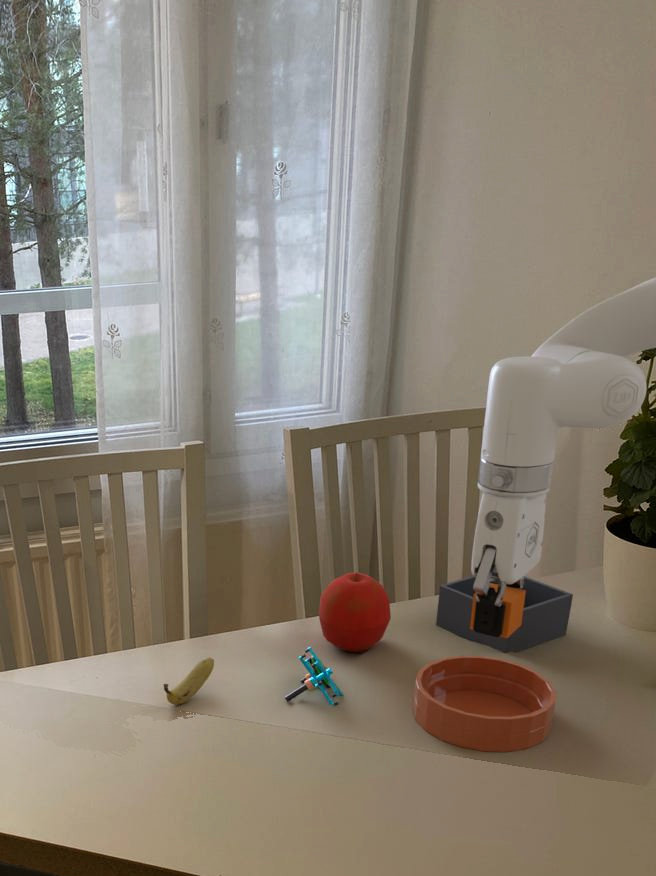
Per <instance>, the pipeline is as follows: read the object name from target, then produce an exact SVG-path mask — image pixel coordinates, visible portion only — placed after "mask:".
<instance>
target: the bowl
mask: <svg viewBox="0 0 656 876" xmlns="http://www.w3.org/2000/svg"><path fill="white" fill-rule="evenodd" d="M556 699H557V690H556V689H555V688H554V685H553V684H552V683H551V681H550V680H549V679H547V678H546V677H545V676H544V675H543V674H541V673H539V672H538V671H536V670H534V669H532V668H529V667H527V666H525V665H523V664H521V663H517V662H513V661H511V660H506V659H503V658H497V657H490V656H484V655H456V656H448V657H442V658H439V659H436V660H434V661H430V662H428V663H427V664H425V665H424V666H423V667H421V668H420V669H419V670H418V672H417V674H416V677H415V680H414V691H413V700H412V701H413V702H412V713H413V716H414V720H415V721H416V722H417V724H418V725H419V726H420V727H421V728H422V729H423V731H426V732H427V733H429V734H431V736H433V737H435V738H437V739H438V740H441V741H443V742H446V743H448V744H451V745H455V746H458V747H460V748H465V749H470V750H476V751H481V752H491V753H492V752H495V753H496V752H497V753H509V752H516V751H522V750H527V749H529V748H532V747H534V746H537V745H538V744H541V743H542V742H543V741H544V740H545V739H546V738H547V737H548V736H549V735H550V734H551V729H552V723H553V717H554V712H555V708H556V707H555V705H556Z"/></svg>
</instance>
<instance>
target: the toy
mask: <svg viewBox="0 0 656 876" xmlns="http://www.w3.org/2000/svg"><path fill="white" fill-rule="evenodd" d="M490 585H491V586H490V587H493V588H495V591H496V593H497V588H498V584H493V583H490ZM525 594H526V590H521V589H517V588H512V587H507V586H506V588H505V593H504V598H503V602H502V604H504V605H505V612H504V620H503V628H502V634H501V635H500V636H499V637H503V638H508V637H509V636H510V635H511V634H512V633H513V632H514V631H515V630H516V629H517V628H519V627H520V626H521V623H522V615H523V608H524V601H525ZM475 608H476V593H475V594H474V597H473V606H472V615H471V624H470V629H471V630H473V626H474V617H475Z"/></svg>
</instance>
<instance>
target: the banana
mask: <svg viewBox="0 0 656 876" xmlns="http://www.w3.org/2000/svg"><path fill="white" fill-rule="evenodd" d="M214 666H215V659H213V658H211V657H207V658H204V659H202V660H201V661H199V662H198V663H197V664H196V665H195V666H193V669H192V670H191V671H190V672H189V673H188V675H187V676H186V677H185V678H184V679H183V680H182V681H181V682H180V683H178V685H177V686H176V687H175V688H173V689H172V690H169V684H168V683H163V691H165V693H166V699H167V701H168V703H169V704H170V705H173V706H179V705H182V704H184V703H186V702H187V701H189V700H190V699H191V698H193V697H194V696H195V695H196V694H197V693H198V691H199V690H200V689H201V688H202V687H203V686H204V684H205V682H206V681H207V680H208V679H209V677H210V675H211V674H212V673H213V670H214Z"/></svg>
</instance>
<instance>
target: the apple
mask: <svg viewBox="0 0 656 876" xmlns="http://www.w3.org/2000/svg"><path fill="white" fill-rule="evenodd" d="M318 619H319V623H320V627H321V631H322V636H323V637H324V639H326V641H327V642H329V643H330V644H332V645H333V646H334V647H336V648H338V649H340V650H343V651H345V652H351V653H363V652H366V651H368V650H370V649H371V648H373V647H374V646H376V645H377V644H378V643H379V642H380V641H381V640H382V639H383V637H384V635H385V633H386V630H387V628H388V626H389V624H390V621H391V602H390V598H389V595H388V593H387V592H386V590H385V588H384V586H383V585H382V584H381V583H380V582H379V581H377V579H375V578H374V577H372V576H370V575H368V574H365V573H360V572H348V573H345V574H343V575H340V576H339V577H337V578H335V579H333V580H332V581H331V582H329V584H328V585H327V587H326V588H325V590H323V592H322V593H321V594H320V600H319V609H318Z"/></svg>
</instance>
